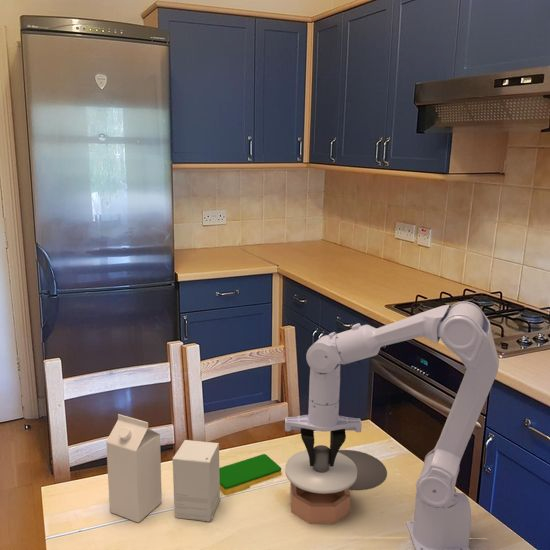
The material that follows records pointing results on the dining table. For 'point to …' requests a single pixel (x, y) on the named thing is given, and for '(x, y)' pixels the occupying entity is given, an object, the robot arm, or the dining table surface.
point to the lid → (321, 471)
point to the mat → (366, 470)
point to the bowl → (319, 505)
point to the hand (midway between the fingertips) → (321, 463)
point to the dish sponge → (247, 473)
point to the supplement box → (196, 480)
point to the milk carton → (133, 468)
